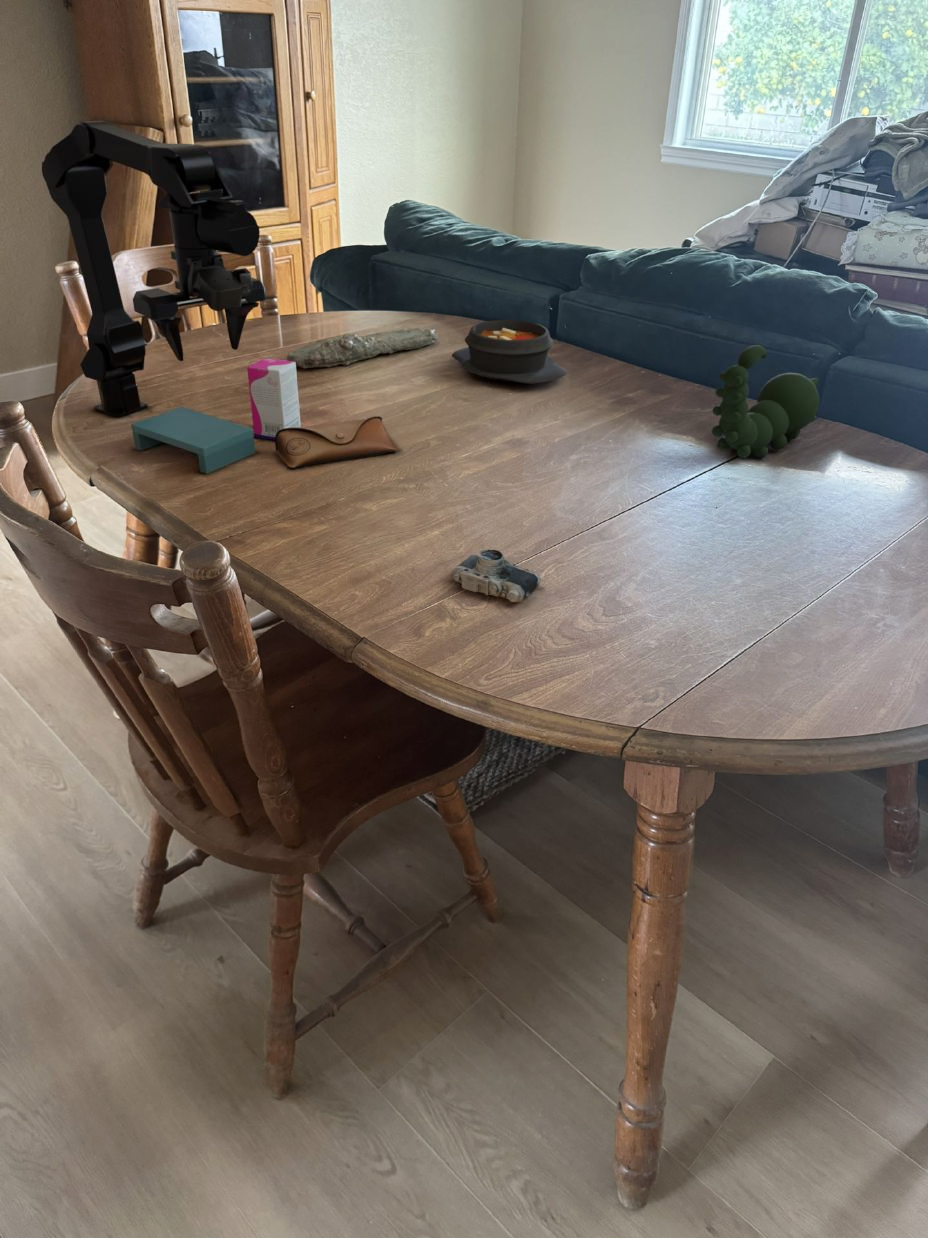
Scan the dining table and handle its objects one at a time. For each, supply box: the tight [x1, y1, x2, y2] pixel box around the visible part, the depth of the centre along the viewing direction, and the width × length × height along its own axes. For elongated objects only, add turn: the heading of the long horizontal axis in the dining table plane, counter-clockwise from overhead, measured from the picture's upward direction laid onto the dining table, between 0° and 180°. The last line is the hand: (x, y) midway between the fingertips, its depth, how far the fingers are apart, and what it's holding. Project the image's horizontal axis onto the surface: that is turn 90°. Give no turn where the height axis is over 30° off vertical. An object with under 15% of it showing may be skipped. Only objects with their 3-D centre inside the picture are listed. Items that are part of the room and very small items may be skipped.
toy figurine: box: [711, 344, 820, 459], centre depth 143 cm, size 9×19×25 cm
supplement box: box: [246, 357, 302, 441], centre depth 145 cm, size 6×6×12 cm
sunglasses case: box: [274, 415, 399, 469], centre depth 141 cm, size 18×7×7 cm, turn 116°
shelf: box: [130, 406, 256, 475], centre depth 140 cm, size 16×10×4 cm, turn 56°
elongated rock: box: [286, 327, 438, 369], centre depth 184 cm, size 35×5×10 cm
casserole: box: [451, 319, 568, 385], centre depth 175 cm, size 25×19×8 cm
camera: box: [452, 548, 541, 603], centre depth 107 cm, size 5×10×4 cm, turn 58°
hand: (208, 354), depth 137 cm, fingers open, 9 cm apart
